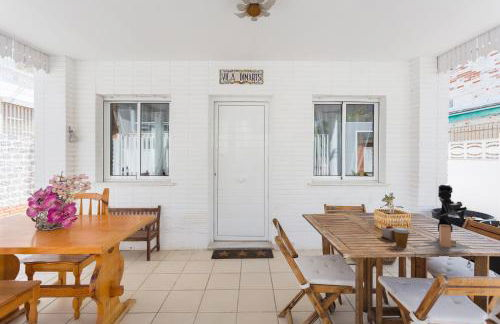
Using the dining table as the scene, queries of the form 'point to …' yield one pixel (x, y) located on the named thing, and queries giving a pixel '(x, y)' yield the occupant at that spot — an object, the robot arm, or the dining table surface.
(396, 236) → the disposable coffee cup
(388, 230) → the food item
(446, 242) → the tan tall block
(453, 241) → the beige wooden cube
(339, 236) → the dining table surface
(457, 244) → the mat
